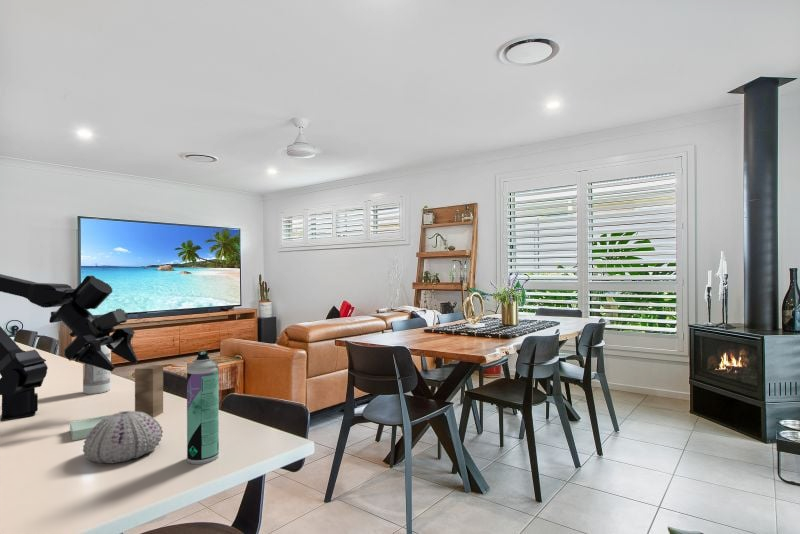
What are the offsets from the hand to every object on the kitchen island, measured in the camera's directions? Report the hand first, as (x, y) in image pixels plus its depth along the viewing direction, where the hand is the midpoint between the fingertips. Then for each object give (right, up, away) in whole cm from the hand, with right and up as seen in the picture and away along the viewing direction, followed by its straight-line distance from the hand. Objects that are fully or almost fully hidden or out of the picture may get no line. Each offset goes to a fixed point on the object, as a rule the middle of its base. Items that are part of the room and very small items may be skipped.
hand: (125, 365), depth 112 cm
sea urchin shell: (+15, -12, -25) cm, 31 cm away
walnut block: (+6, -12, 0) cm, 14 cm away
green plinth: (0, -12, -12) cm, 17 cm away
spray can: (+32, -12, -27) cm, 43 cm away
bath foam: (-23, -13, +23) cm, 35 cm away
